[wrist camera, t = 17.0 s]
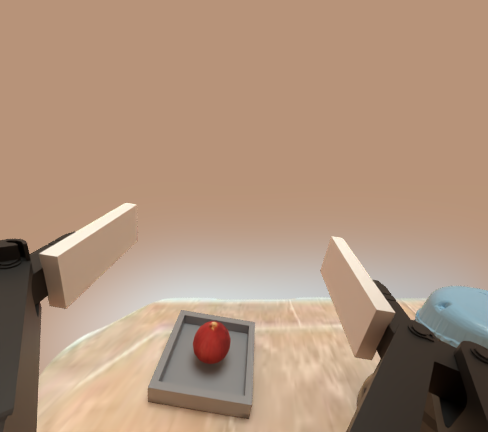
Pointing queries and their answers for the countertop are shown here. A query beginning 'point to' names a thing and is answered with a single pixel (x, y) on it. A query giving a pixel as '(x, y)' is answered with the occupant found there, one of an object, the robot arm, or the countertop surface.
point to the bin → (206, 369)
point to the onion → (211, 342)
